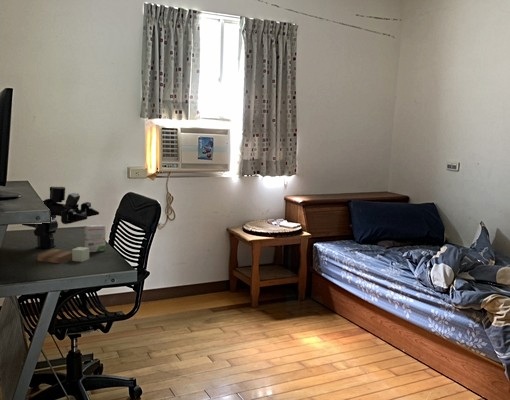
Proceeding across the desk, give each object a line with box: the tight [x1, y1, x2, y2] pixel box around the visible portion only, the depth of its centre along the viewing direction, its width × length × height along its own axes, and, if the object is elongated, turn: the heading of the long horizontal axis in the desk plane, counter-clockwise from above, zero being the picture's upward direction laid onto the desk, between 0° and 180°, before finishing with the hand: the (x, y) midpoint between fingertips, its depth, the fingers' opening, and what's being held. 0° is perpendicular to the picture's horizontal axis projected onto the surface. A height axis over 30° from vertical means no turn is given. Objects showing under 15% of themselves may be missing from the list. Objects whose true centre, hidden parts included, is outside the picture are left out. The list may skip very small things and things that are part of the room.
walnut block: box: [37, 248, 72, 264], centre depth 209 cm, size 11×11×3 cm
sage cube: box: [71, 246, 90, 263], centre depth 209 cm, size 5×5×5 cm
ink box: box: [84, 224, 107, 253], centre depth 225 cm, size 8×5×12 cm, turn 119°
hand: (93, 215), depth 219 cm, fingers open, 9 cm apart
